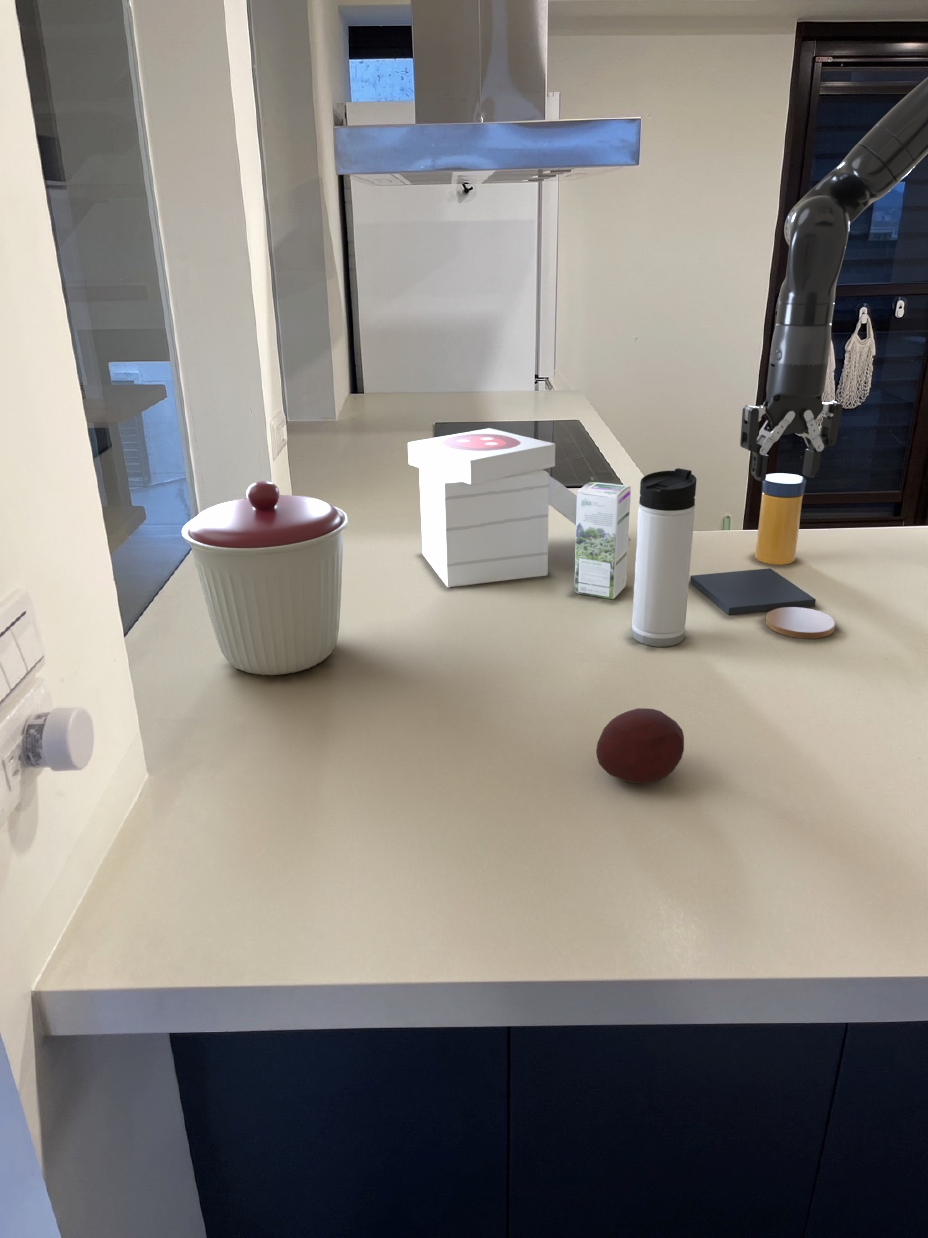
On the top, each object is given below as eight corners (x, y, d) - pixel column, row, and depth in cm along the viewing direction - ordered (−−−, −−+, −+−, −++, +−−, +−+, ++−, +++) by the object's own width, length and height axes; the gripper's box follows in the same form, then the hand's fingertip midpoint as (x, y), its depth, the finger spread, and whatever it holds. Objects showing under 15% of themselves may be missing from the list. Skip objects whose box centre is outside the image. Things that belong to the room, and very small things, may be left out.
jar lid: (791, 484, 133) (792, 472, 132) (812, 495, 128) (814, 482, 127) (754, 487, 132) (755, 474, 131) (774, 498, 127) (775, 484, 126)
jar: (782, 550, 137) (792, 475, 132) (802, 563, 132) (812, 485, 127) (748, 553, 136) (756, 478, 131) (766, 566, 131) (775, 488, 126)
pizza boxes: (636, 568, 131) (643, 445, 124) (436, 594, 124) (431, 464, 117) (584, 530, 148) (588, 419, 141) (405, 550, 141) (399, 434, 134)
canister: (330, 697, 97) (313, 508, 89) (174, 686, 100) (143, 502, 92) (376, 629, 113) (365, 463, 105) (240, 622, 117) (219, 460, 108)
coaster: (812, 610, 116) (813, 604, 116) (847, 635, 109) (848, 629, 108) (754, 615, 115) (754, 610, 114) (786, 641, 107) (787, 635, 107)
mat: (769, 574, 128) (770, 567, 127) (815, 606, 117) (816, 599, 117) (689, 582, 126) (690, 575, 126) (728, 615, 115) (729, 607, 115)
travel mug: (696, 635, 110) (710, 473, 102) (664, 652, 106) (676, 484, 98) (652, 621, 114) (663, 464, 106) (621, 637, 110) (629, 475, 102)
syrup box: (627, 586, 125) (632, 483, 119) (613, 601, 120) (618, 495, 114) (588, 580, 127) (591, 479, 122) (572, 594, 123) (575, 490, 117)
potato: (702, 786, 80) (708, 727, 78) (619, 806, 78) (622, 746, 75) (658, 745, 87) (662, 690, 84) (581, 763, 84) (582, 706, 82)
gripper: (832, 352, 127) (815, 468, 134) (736, 356, 125) (724, 474, 131) (863, 359, 120) (844, 481, 127) (763, 364, 118) (749, 488, 125)
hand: (783, 477), depth 129 cm, fingers open, 7 cm apart
